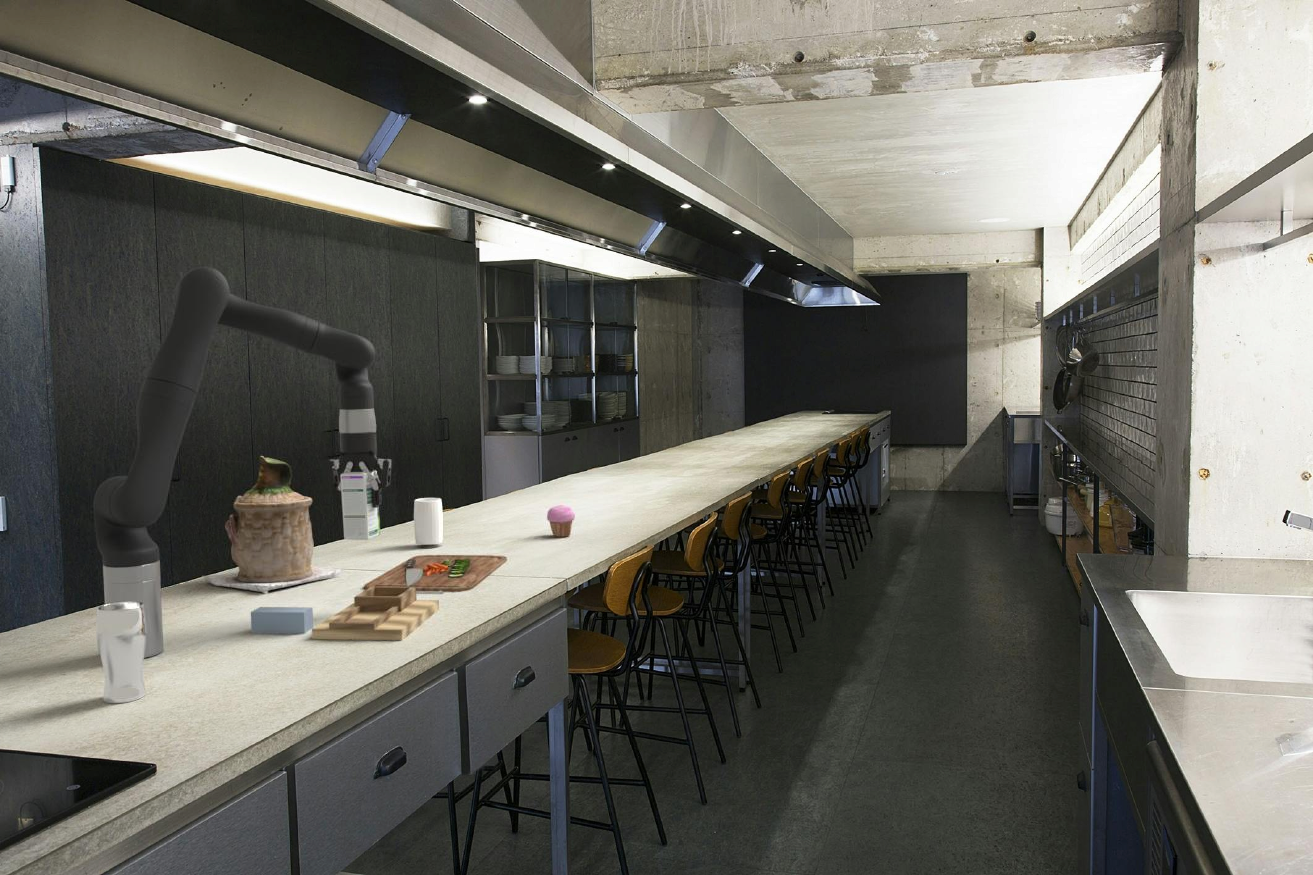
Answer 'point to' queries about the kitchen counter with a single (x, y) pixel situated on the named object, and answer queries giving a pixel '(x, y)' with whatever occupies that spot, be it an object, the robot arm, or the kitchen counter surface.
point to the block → (282, 620)
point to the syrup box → (358, 507)
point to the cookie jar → (271, 535)
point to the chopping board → (440, 573)
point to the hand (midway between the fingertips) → (360, 506)
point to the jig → (378, 615)
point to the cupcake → (561, 520)
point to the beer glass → (122, 649)
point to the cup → (428, 521)
